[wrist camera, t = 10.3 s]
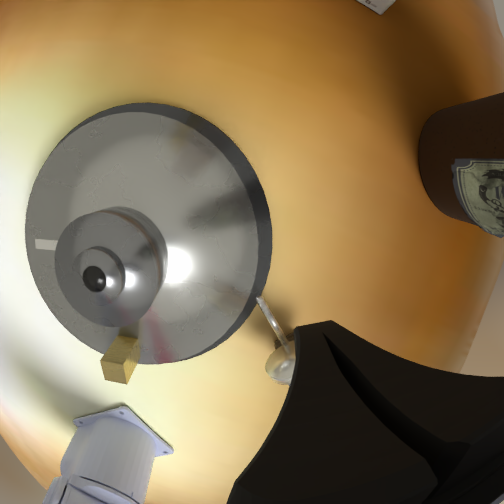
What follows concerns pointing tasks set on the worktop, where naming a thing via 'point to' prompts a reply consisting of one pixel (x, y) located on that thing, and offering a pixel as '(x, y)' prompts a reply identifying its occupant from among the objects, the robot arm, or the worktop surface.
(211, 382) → the worktop surface
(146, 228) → the cover
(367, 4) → the supplement box
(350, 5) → the worktop surface
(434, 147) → the olive oil
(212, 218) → the turntable
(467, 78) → the worktop surface
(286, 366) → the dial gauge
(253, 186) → the turntable base
